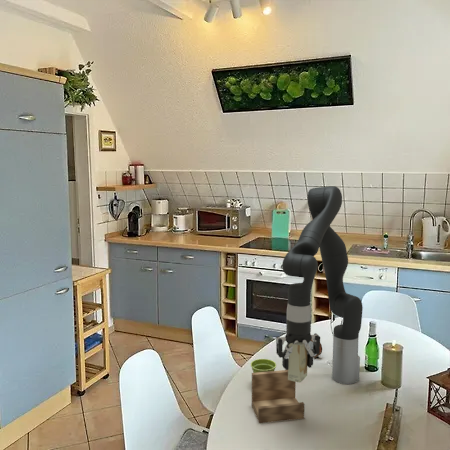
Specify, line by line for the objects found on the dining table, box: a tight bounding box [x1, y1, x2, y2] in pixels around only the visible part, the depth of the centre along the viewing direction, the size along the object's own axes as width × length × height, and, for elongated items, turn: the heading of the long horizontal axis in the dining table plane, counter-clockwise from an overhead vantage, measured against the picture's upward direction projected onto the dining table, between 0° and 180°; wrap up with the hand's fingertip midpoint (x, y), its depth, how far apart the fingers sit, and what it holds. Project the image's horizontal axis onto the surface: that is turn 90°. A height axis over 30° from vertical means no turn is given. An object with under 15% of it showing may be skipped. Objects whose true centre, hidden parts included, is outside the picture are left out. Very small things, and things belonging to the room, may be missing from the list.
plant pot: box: [250, 358, 277, 373], centre depth 171 cm, size 9×9×9 cm
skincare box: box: [288, 342, 308, 384], centre depth 146 cm, size 6×4×12 cm
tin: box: [308, 339, 323, 359], centre depth 199 cm, size 15×3×8 cm, turn 47°
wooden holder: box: [251, 369, 305, 424], centre depth 153 cm, size 15×10×12 cm
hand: (297, 367), depth 146 cm, fingers closed on skincare box, 7 cm apart
